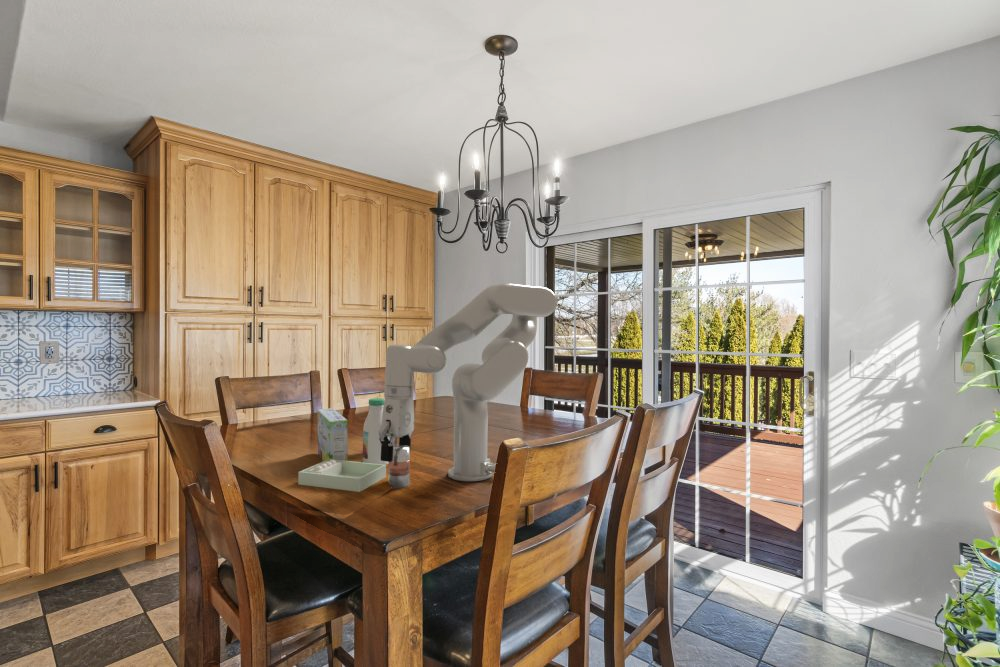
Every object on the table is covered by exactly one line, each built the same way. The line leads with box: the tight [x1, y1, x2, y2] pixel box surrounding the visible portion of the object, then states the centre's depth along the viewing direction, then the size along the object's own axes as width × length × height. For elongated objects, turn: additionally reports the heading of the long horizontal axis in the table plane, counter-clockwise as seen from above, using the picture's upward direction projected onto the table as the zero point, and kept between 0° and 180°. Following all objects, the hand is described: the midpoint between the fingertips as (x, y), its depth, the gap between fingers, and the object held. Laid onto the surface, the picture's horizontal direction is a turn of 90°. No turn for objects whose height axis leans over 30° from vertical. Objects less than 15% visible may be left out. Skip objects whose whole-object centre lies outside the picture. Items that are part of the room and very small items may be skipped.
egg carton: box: [308, 460, 342, 476], centre depth 133 cm, size 4×9×4 cm, turn 164°
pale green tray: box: [297, 459, 387, 493], centre depth 131 cm, size 18×13×4 cm
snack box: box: [316, 407, 349, 462], centre depth 150 cm, size 21×6×15 cm, turn 30°
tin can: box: [387, 444, 411, 489], centre depth 130 cm, size 6×6×10 cm
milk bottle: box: [362, 397, 389, 466], centre depth 148 cm, size 8×8×20 cm
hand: (395, 456), depth 130 cm, fingers open, 9 cm apart
